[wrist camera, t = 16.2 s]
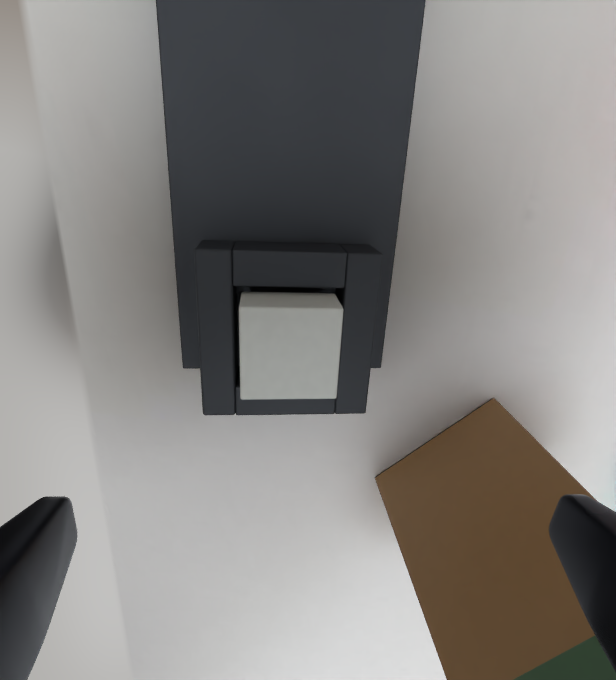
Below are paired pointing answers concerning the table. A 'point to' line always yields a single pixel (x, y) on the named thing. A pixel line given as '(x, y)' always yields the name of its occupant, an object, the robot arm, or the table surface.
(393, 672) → the table surface
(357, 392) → the dark grey holder
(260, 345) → the keypad key
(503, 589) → the carton
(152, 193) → the table surface
